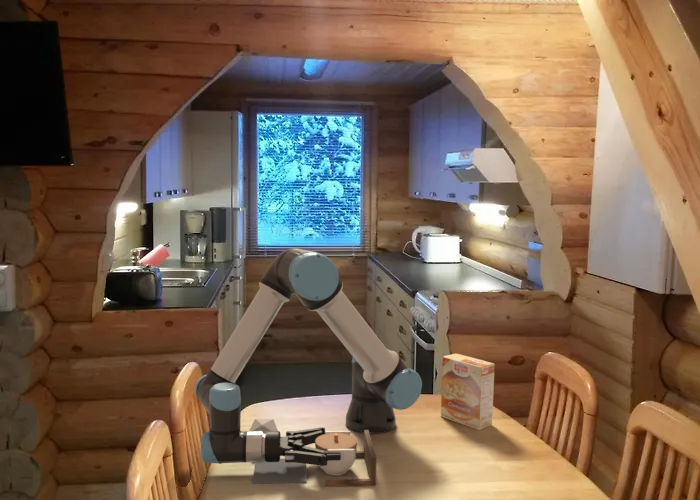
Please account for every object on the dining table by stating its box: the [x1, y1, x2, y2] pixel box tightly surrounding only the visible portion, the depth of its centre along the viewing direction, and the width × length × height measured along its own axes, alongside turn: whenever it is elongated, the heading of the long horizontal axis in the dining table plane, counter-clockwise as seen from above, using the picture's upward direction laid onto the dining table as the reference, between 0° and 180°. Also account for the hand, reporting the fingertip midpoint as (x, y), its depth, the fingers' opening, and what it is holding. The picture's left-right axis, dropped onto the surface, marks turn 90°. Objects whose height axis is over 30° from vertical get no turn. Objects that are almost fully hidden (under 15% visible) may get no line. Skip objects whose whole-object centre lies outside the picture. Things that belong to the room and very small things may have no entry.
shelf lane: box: [324, 430, 377, 488], centre depth 161 cm, size 12×17×7 cm
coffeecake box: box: [440, 353, 496, 431], centre depth 196 cm, size 15×7×20 cm, turn 42°
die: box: [248, 418, 279, 433], centre depth 174 cm, size 8×9×10 cm
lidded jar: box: [314, 433, 358, 477], centre depth 161 cm, size 11×11×9 cm
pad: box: [252, 458, 307, 485], centre depth 160 cm, size 13×13×1 cm
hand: (352, 445), depth 161 cm, fingers closed on lidded jar, 11 cm apart
